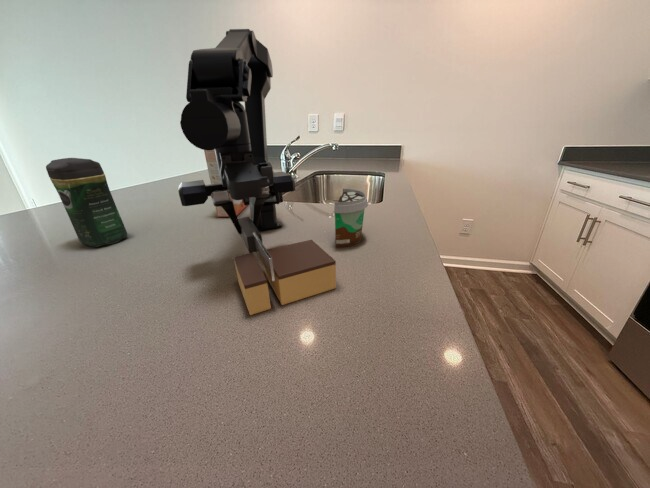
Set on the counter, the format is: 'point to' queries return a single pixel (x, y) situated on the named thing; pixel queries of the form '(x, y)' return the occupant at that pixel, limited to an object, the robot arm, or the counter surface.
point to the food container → (349, 217)
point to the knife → (256, 244)
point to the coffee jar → (87, 200)
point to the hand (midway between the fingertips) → (247, 232)
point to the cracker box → (216, 179)
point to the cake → (301, 271)
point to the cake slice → (252, 283)
